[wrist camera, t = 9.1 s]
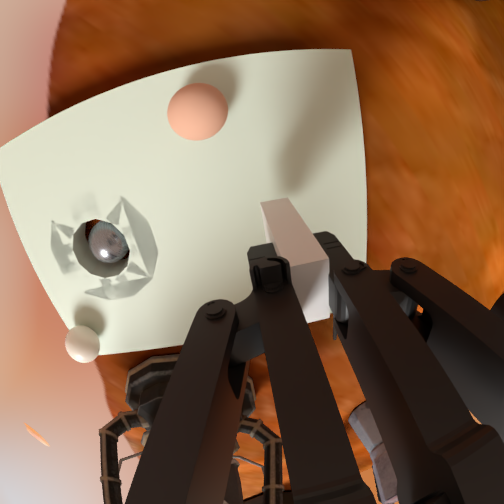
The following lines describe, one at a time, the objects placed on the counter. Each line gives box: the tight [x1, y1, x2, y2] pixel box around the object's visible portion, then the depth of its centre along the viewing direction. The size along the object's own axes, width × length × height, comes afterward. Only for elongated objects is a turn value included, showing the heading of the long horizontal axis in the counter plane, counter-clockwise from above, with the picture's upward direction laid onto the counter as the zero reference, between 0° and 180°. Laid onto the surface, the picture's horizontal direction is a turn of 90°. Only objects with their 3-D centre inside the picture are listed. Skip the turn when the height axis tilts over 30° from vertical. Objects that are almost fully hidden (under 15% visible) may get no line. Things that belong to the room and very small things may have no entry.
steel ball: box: [88, 220, 129, 263], centre depth 19 cm, size 3×3×3 cm
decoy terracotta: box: [167, 83, 228, 141], centre depth 13 cm, size 3×3×3 cm
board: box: [0, 49, 367, 355], centre depth 19 cm, size 20×26×2 cm
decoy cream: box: [65, 325, 100, 363], centre depth 20 cm, size 3×3×3 cm
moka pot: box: [348, 401, 398, 504], centre depth 30 cm, size 10×15×20 cm, turn 176°
